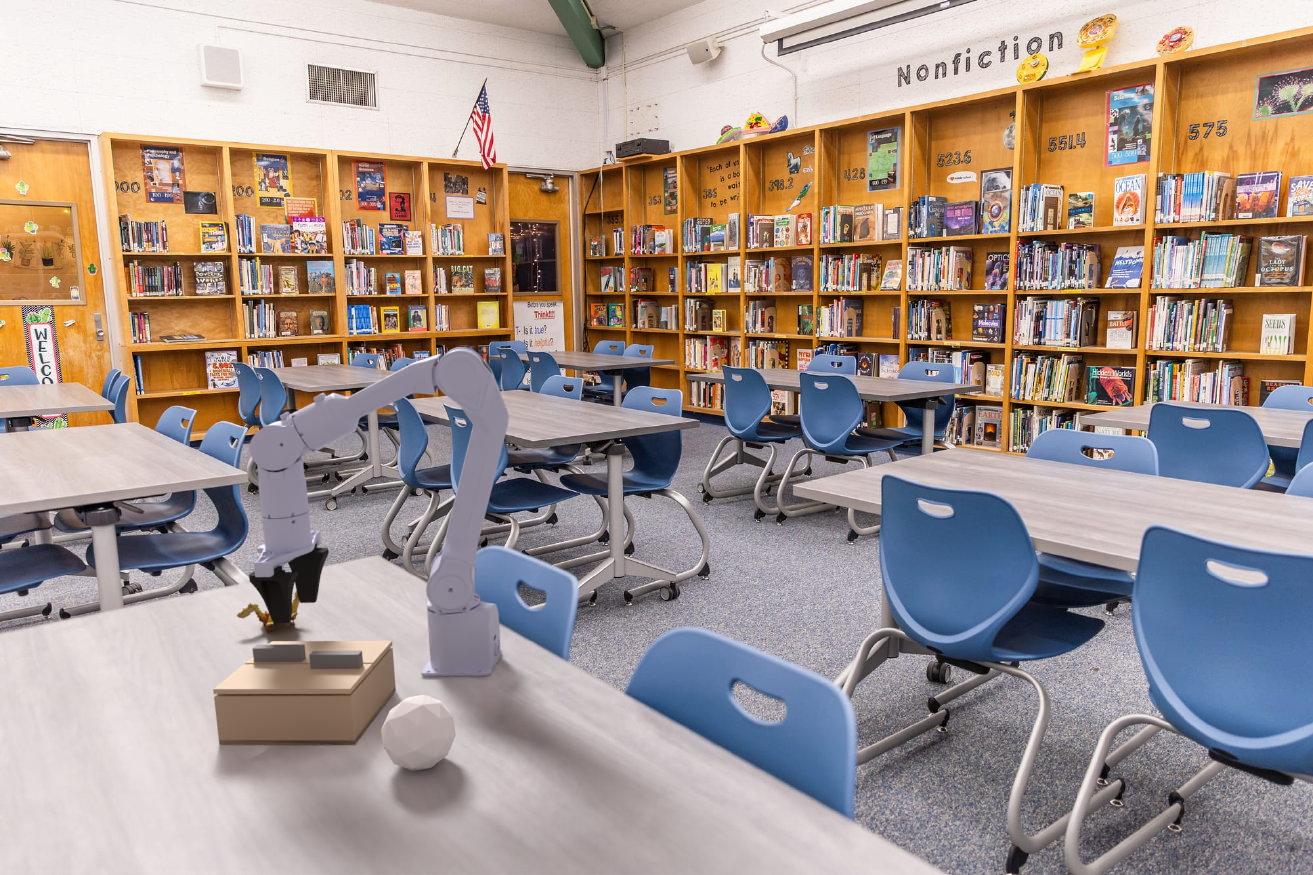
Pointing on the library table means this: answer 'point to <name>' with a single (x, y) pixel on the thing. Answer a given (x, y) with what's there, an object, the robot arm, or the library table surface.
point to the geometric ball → (418, 732)
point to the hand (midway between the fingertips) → (295, 612)
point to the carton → (305, 713)
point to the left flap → (300, 676)
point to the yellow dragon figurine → (266, 616)
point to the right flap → (302, 649)
